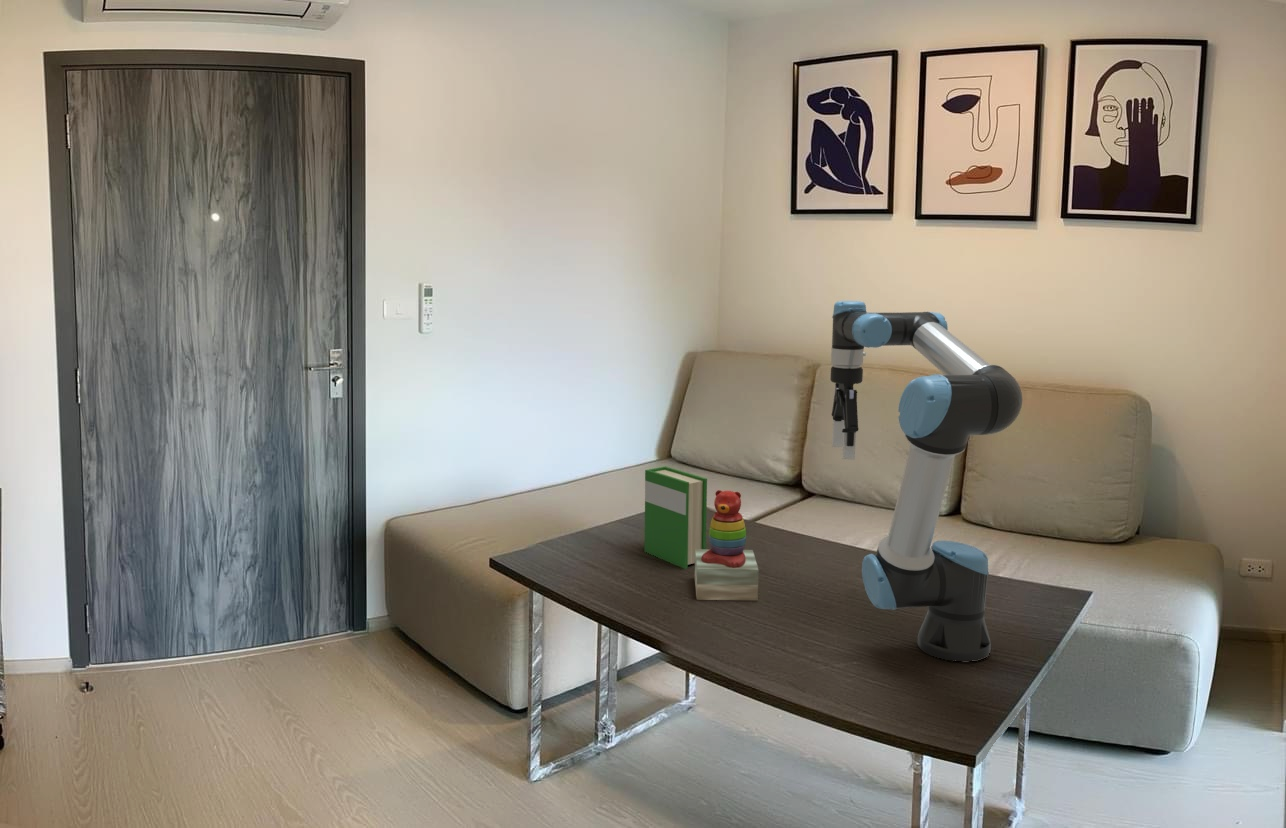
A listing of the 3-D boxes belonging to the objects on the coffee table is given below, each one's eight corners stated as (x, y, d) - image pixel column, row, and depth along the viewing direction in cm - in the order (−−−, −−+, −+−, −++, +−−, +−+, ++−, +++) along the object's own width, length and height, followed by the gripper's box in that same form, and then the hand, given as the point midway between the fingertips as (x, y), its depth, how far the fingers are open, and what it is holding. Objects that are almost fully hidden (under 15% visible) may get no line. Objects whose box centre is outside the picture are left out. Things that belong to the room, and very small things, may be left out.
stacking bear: (698, 561, 237) (699, 493, 234) (714, 550, 246) (716, 484, 243) (738, 569, 232) (740, 498, 229) (753, 557, 241) (755, 489, 238)
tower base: (757, 600, 233) (758, 569, 232) (696, 599, 233) (697, 568, 232) (751, 579, 248) (752, 549, 247) (694, 578, 248) (695, 549, 247)
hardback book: (705, 563, 260) (707, 478, 256) (684, 569, 255) (686, 482, 251) (664, 547, 274) (665, 466, 269) (644, 552, 269) (645, 470, 265)
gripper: (874, 373, 214) (869, 464, 217) (852, 359, 238) (848, 442, 242) (841, 373, 214) (836, 464, 218) (822, 359, 238) (818, 441, 242)
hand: (842, 452), depth 230 cm, fingers open, 13 cm apart
